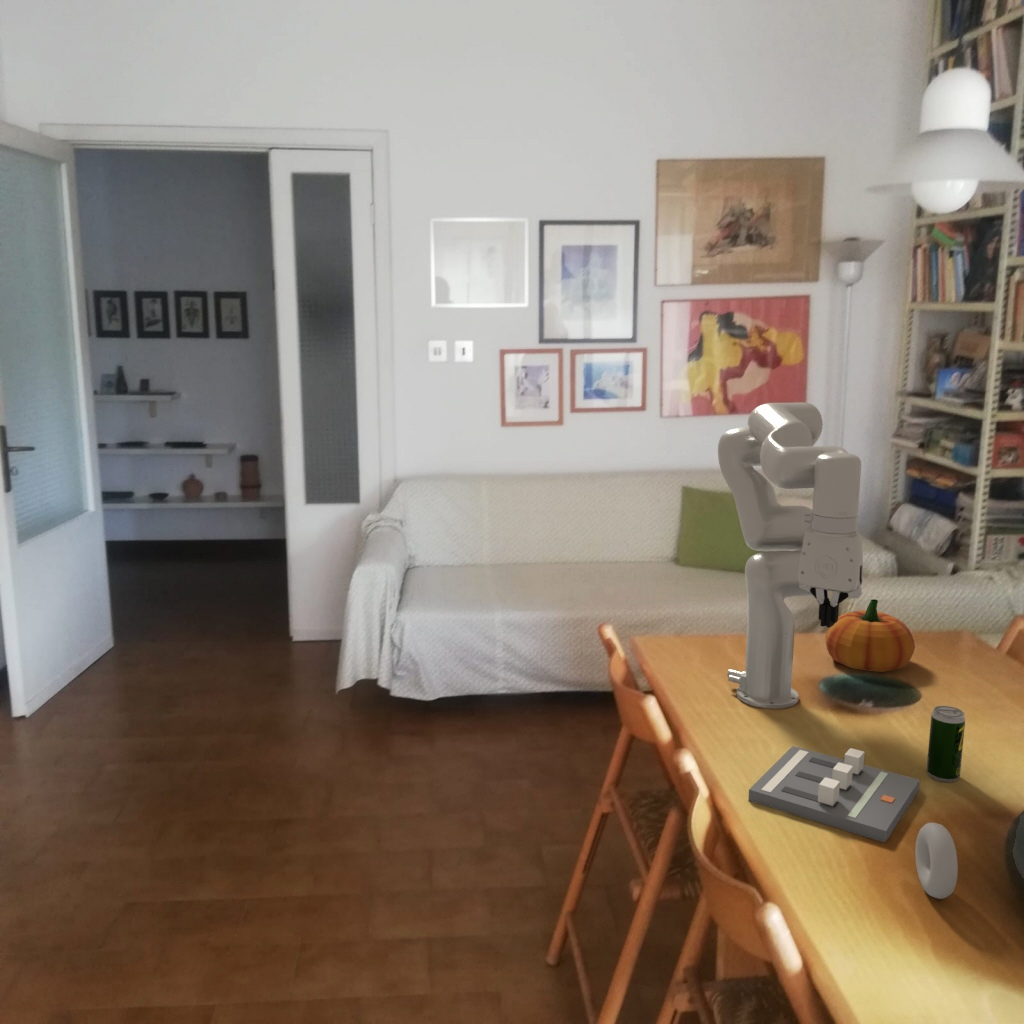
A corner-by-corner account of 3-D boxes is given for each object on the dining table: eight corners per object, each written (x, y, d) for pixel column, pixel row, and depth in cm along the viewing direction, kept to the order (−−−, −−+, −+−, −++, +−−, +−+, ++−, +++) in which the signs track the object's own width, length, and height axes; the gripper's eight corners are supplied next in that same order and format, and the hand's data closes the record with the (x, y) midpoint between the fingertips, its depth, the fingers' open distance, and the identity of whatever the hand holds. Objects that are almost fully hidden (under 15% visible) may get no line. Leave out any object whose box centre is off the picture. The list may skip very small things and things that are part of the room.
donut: (957, 915, 127) (964, 848, 125) (931, 913, 127) (937, 846, 125) (934, 872, 137) (940, 809, 135) (909, 871, 137) (915, 808, 135)
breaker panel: (748, 800, 157) (749, 770, 156) (792, 755, 173) (793, 728, 172) (885, 842, 144) (887, 810, 143) (918, 790, 160) (921, 761, 159)
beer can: (927, 780, 164) (933, 715, 161) (924, 766, 169) (930, 703, 166) (961, 785, 162) (968, 719, 159) (957, 770, 167) (963, 707, 164)
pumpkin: (820, 671, 214) (824, 608, 211) (827, 644, 231) (830, 585, 228) (913, 683, 206) (918, 618, 203) (912, 654, 224) (917, 593, 221)
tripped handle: (831, 785, 157) (832, 769, 157) (837, 778, 159) (838, 762, 159) (846, 789, 156) (847, 773, 155) (851, 782, 158) (852, 766, 157)
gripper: (784, 522, 166) (779, 622, 169) (871, 533, 157) (864, 639, 161) (799, 515, 171) (794, 612, 175) (884, 525, 163) (877, 627, 166)
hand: (827, 624), depth 168 cm, fingers closed
